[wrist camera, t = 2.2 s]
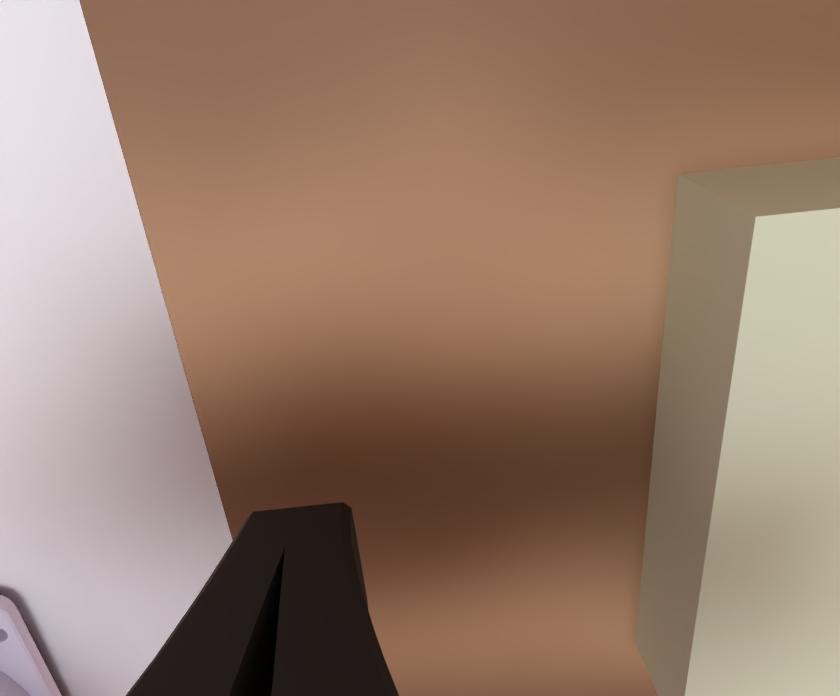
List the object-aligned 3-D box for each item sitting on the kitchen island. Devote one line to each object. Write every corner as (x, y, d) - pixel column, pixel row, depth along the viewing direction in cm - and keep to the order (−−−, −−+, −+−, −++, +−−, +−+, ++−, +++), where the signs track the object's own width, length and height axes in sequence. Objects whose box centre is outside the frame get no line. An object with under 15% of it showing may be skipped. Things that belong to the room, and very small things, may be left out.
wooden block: (869, 665, 20) (976, 806, 17) (338, 728, 20) (331, 886, 16) (1261, -514, 9) (1832, -845, 6) (78, -415, 9) (-120, -701, 5)
